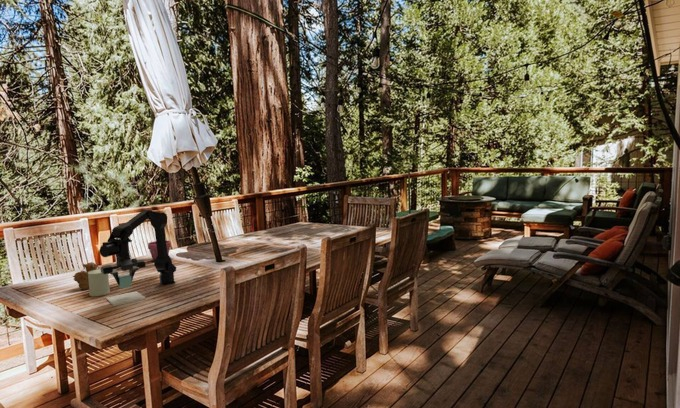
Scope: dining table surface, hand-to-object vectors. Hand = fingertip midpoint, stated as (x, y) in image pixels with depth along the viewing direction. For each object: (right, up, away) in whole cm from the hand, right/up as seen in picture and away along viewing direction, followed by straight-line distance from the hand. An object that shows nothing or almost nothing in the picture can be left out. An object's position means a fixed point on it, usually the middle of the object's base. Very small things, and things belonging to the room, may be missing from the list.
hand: (124, 284), depth 204 cm
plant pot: (-17, 0, +81) cm, 83 cm away
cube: (0, -1, 0) cm, 1 cm away
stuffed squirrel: (-30, -6, +22) cm, 38 cm away
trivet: (0, -7, +1) cm, 7 cm away
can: (-18, -7, +11) cm, 22 cm away
